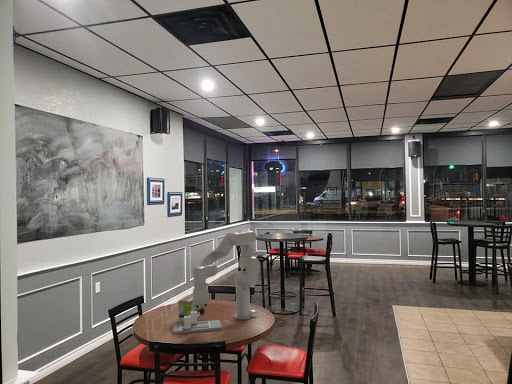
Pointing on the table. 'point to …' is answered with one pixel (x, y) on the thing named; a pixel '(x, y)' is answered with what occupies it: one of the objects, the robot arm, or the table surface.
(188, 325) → the block
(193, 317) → the tab
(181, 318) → the tea box
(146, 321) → the table surface
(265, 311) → the table surface
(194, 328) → the console
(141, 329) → the table surface
